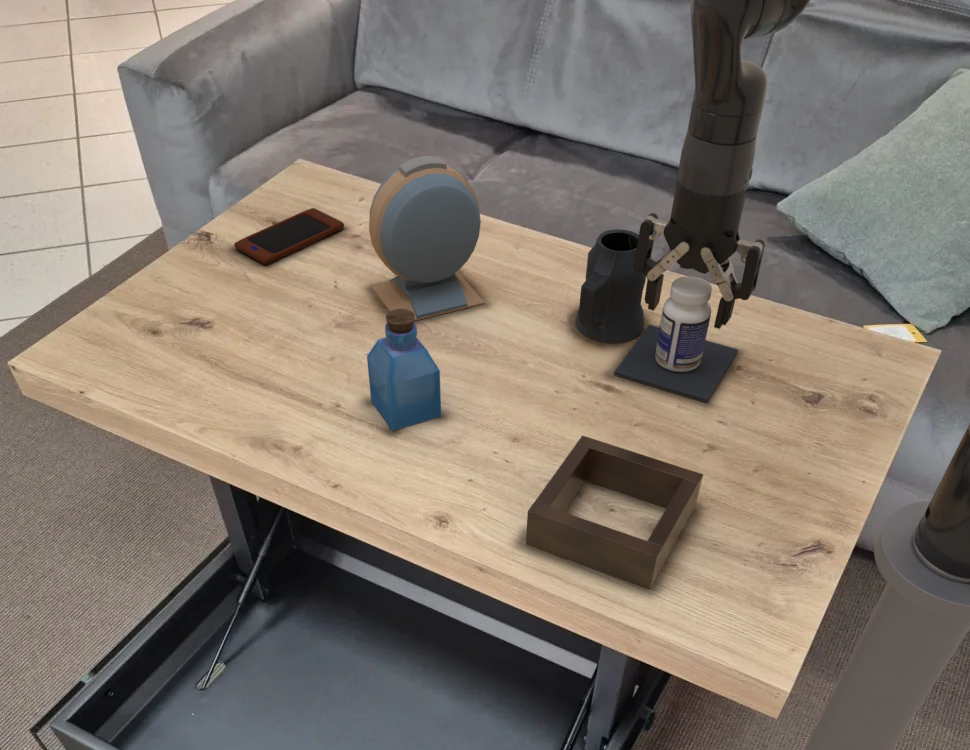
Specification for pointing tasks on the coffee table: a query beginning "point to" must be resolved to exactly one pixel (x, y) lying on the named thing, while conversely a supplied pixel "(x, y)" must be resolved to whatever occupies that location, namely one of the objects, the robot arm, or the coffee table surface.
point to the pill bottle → (684, 324)
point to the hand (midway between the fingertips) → (686, 315)
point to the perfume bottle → (403, 374)
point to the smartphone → (288, 235)
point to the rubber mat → (688, 384)
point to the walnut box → (602, 543)
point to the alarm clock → (425, 237)
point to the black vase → (612, 290)
